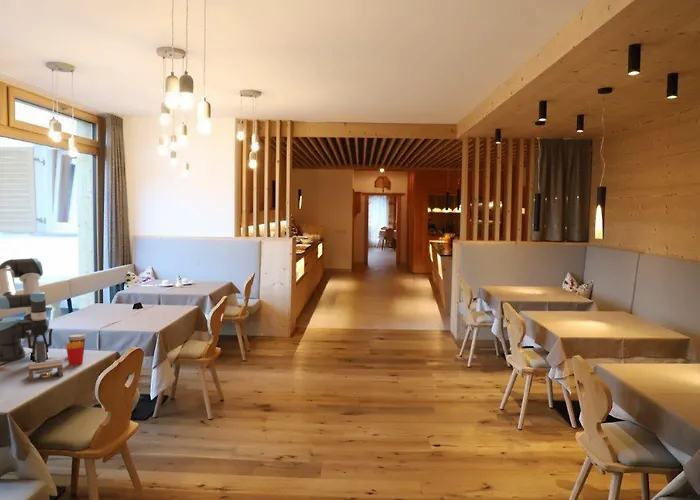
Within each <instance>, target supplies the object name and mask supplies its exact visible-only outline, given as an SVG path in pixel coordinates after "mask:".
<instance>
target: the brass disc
mask: <svg viewBox="0 0 700 500" xmlns="http://www.w3.org/2000/svg"><path fill="white" fill-rule="evenodd" d="M52 376H53V372H50V371H45V372H40V373H39V375H38V377H39V379H48V378H51V377H52Z"/></svg>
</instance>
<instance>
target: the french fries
mask: <svg viewBox="0 0 700 500" xmlns="http://www.w3.org/2000/svg"><path fill="white" fill-rule="evenodd" d="M65 346H66V347H65V348H66V354H67V361H68V366H77V365H78V366H79V365H82V364H83V363H84V362H83V360H84V354H83V350H84V351H85V345H84V346H83V342H82V343H81V342H80V341H78V342H76V343H75V342H72V343H70V341H69V342H68V343H65Z"/></svg>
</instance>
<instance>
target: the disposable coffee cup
mask: <svg viewBox="0 0 700 500" xmlns="http://www.w3.org/2000/svg"><path fill="white" fill-rule="evenodd" d="M86 338H87V336H86V334H85V333H79V332H78V333H72V334H70V335H68V340H69V342H70V343H72V342H75V343H76V342H78V341H80V342H81V343H82V342H83V346H84V347H85V345H86V344H85V343H86ZM84 352H85V349H84V350H83V355H84Z"/></svg>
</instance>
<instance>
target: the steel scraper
mask: <svg viewBox="0 0 700 500" xmlns="http://www.w3.org/2000/svg"><path fill="white" fill-rule="evenodd" d="M35 348H36V351H37V360H35V361H36V362H35V363H40V362H46V359H45V343H44V340H40V341H39V340H38V341H37V340H36V345H35ZM50 371H53V369H47V370H40V371H34V372H35V374H37V373H46V372H50Z"/></svg>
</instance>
